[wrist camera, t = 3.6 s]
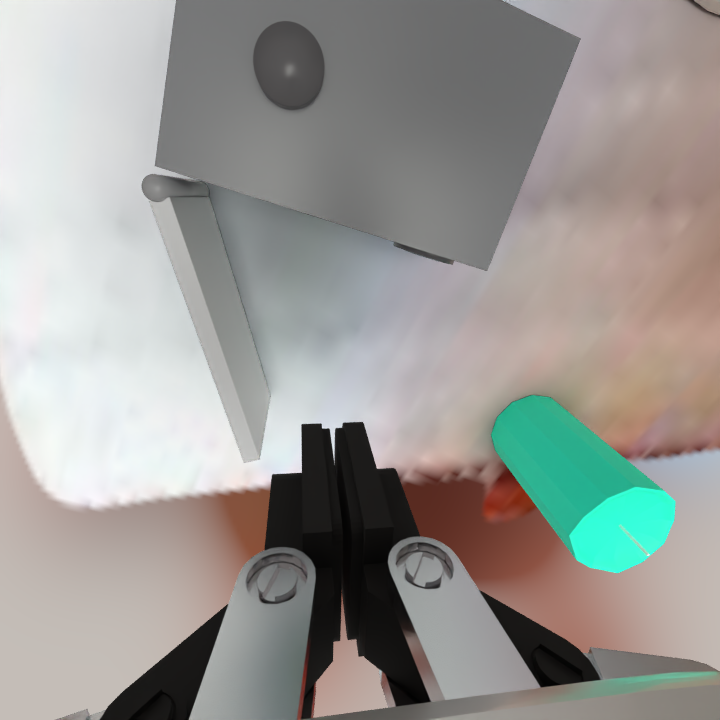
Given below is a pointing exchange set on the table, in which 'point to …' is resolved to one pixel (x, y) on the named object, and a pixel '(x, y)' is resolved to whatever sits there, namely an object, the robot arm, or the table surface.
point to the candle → (582, 485)
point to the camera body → (366, 111)
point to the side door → (213, 303)
